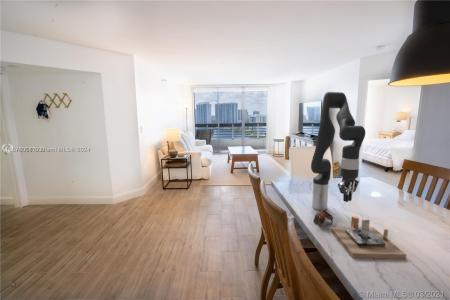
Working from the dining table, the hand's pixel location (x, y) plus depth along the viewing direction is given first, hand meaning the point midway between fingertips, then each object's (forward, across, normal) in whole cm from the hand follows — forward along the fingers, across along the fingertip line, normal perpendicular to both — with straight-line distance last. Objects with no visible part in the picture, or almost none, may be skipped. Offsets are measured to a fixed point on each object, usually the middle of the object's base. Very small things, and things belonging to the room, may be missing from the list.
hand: (347, 200), depth 104 cm
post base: (+19, +2, -8) cm, 21 cm away
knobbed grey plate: (+17, +3, -6) cm, 18 cm away
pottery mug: (+19, +1, +14) cm, 24 cm away
